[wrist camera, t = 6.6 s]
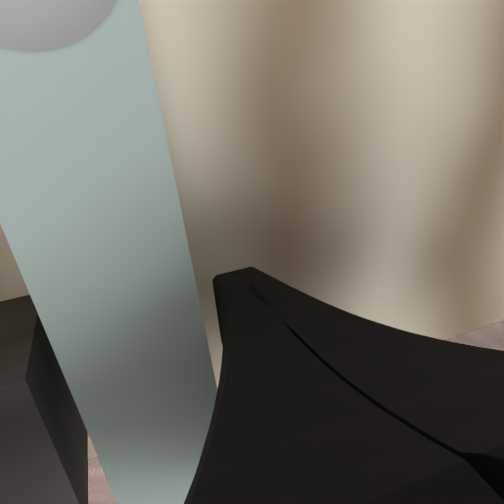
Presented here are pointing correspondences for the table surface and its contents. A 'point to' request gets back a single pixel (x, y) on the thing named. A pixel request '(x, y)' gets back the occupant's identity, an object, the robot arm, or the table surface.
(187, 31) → the stool seat
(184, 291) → the stool leg
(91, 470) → the table surface
